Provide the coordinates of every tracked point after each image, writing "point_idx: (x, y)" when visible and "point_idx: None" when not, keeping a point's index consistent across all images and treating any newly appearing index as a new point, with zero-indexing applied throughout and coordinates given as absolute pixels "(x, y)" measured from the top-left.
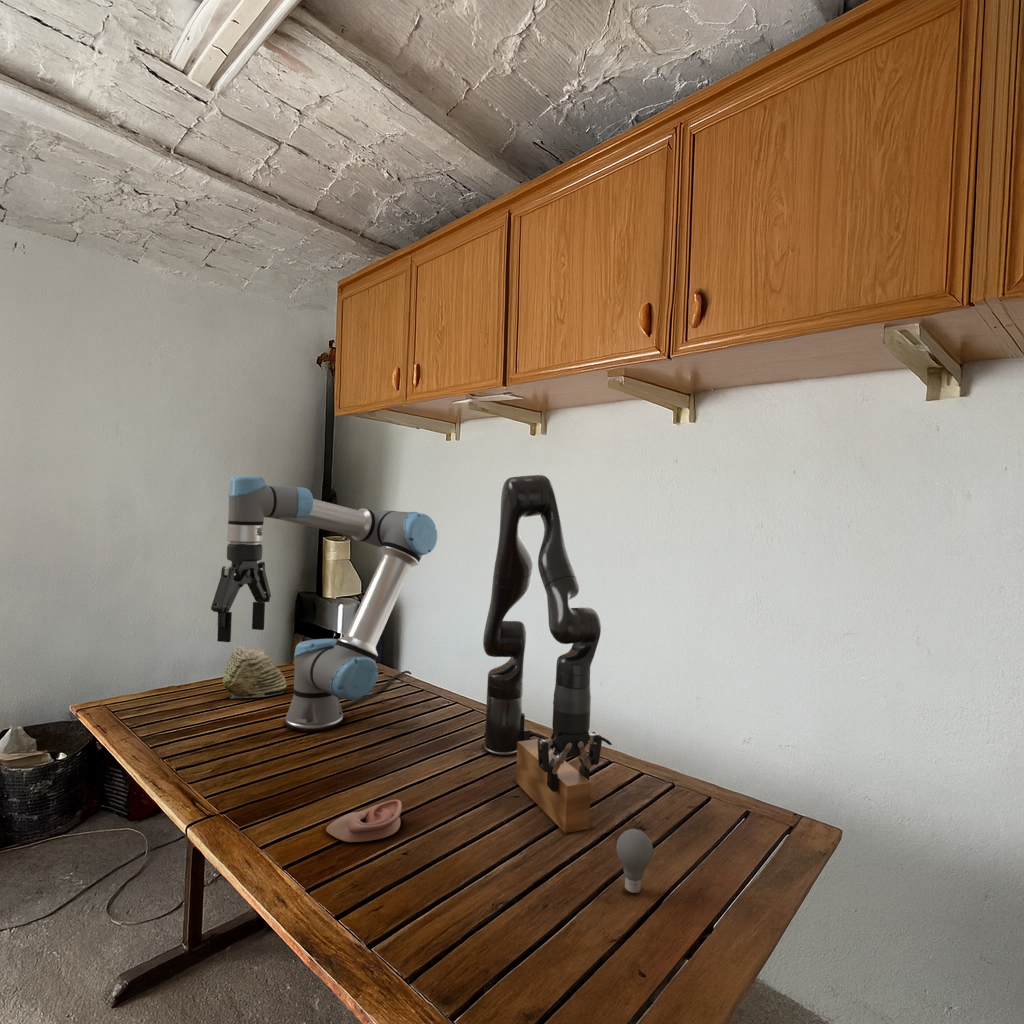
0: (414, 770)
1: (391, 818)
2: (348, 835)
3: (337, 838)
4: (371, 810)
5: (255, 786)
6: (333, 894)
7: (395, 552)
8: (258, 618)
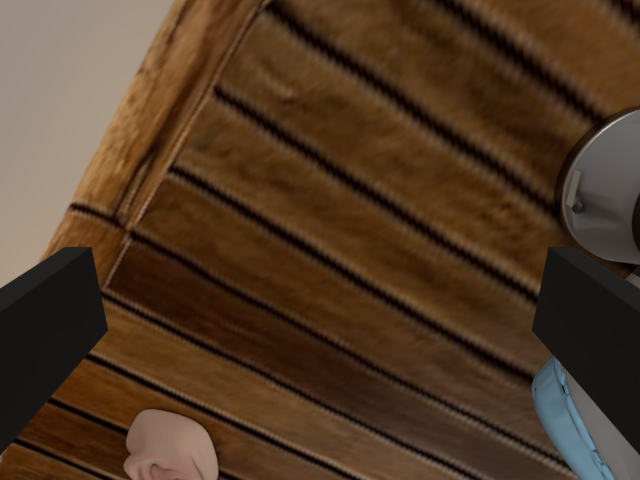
0: (385, 457)
1: None
2: (129, 449)
3: (128, 432)
4: (176, 474)
5: (246, 234)
6: (22, 465)
7: None
8: (596, 351)
